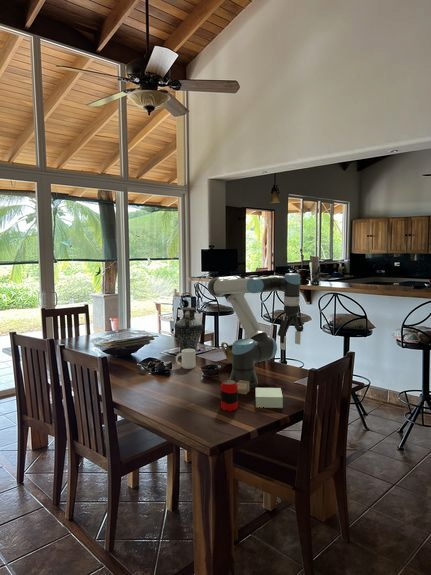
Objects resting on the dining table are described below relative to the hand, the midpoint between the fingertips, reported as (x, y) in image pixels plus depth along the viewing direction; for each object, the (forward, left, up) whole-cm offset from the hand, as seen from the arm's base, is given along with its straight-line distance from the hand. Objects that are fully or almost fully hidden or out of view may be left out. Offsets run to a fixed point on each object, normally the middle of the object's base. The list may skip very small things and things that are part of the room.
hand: (290, 346), depth 214 cm
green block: (-12, -18, -22) cm, 31 cm away
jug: (-62, +73, -22) cm, 98 cm away
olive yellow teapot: (-27, +43, -22) cm, 55 cm away
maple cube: (-24, -4, -22) cm, 33 cm away
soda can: (-30, -25, -22) cm, 45 cm away
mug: (-59, +36, -22) cm, 72 cm away
